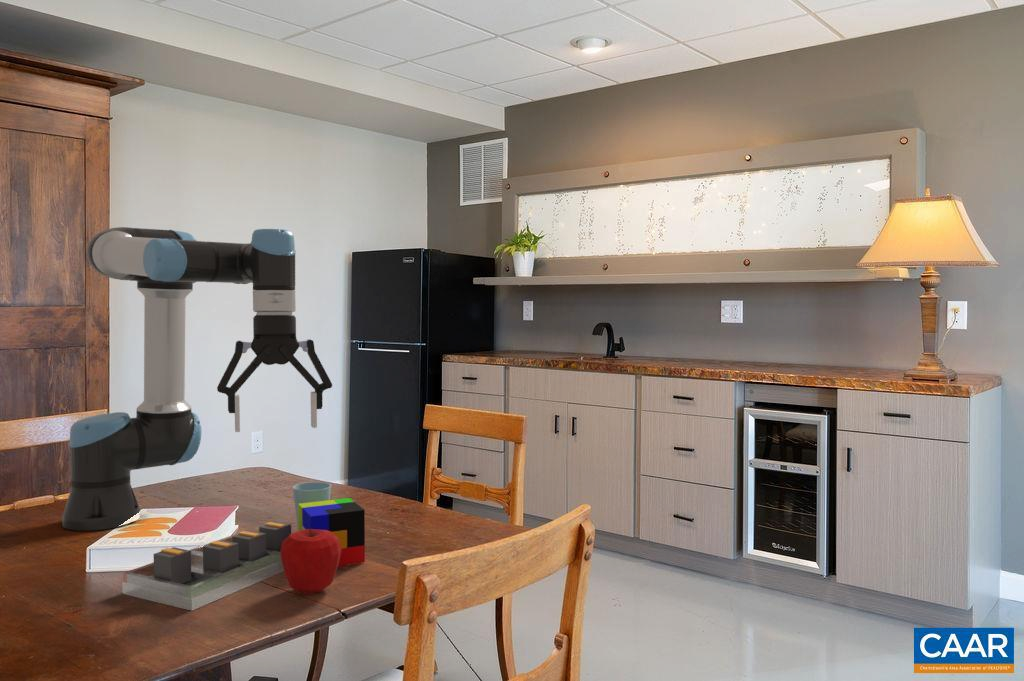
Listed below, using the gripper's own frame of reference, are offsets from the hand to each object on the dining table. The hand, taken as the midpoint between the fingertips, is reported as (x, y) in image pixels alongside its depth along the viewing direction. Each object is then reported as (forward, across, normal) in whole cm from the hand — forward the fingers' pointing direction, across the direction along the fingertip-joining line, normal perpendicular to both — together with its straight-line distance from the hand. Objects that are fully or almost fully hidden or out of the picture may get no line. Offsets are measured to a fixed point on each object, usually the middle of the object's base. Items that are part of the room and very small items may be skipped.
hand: (276, 429), depth 145 cm
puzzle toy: (+25, +10, -1) cm, 27 cm away
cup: (+25, +8, +15) cm, 30 cm away
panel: (+25, -10, -4) cm, 27 cm away
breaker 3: (+23, -5, -5) cm, 24 cm away
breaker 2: (+23, -10, -10) cm, 27 cm away
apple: (+25, +4, -17) cm, 31 cm away
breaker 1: (+23, -18, -11) cm, 31 cm away
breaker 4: (+23, -1, -1) cm, 23 cm away
